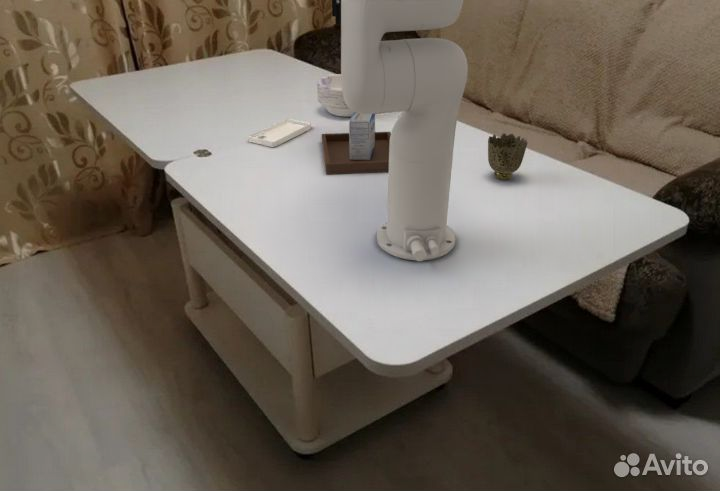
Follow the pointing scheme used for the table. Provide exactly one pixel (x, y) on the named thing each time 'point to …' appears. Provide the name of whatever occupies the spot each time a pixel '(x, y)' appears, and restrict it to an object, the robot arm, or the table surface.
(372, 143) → the medicine box
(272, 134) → the phone case
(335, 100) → the paper bowls
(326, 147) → the tray
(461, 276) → the table surface
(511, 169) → the cup
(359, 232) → the table surface
